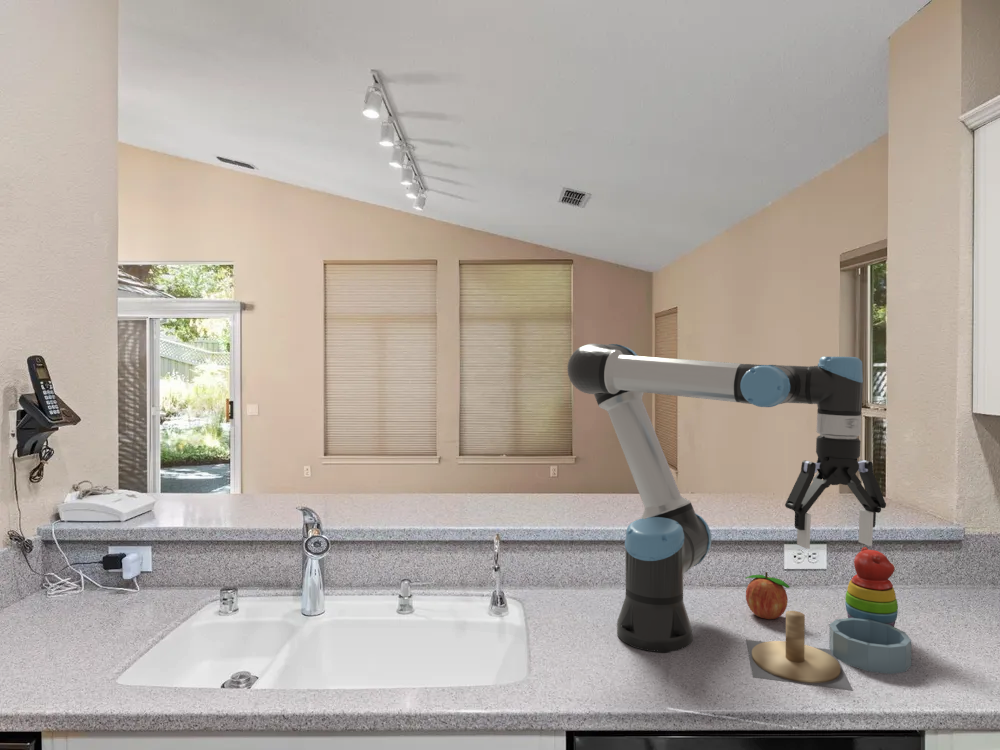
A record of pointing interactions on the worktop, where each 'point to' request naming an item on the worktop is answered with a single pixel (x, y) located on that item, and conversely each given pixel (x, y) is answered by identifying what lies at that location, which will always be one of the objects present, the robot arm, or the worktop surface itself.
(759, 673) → the mat
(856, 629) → the bowl
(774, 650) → the lid
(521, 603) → the worktop surface
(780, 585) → the fruit
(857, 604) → the stacking bear
